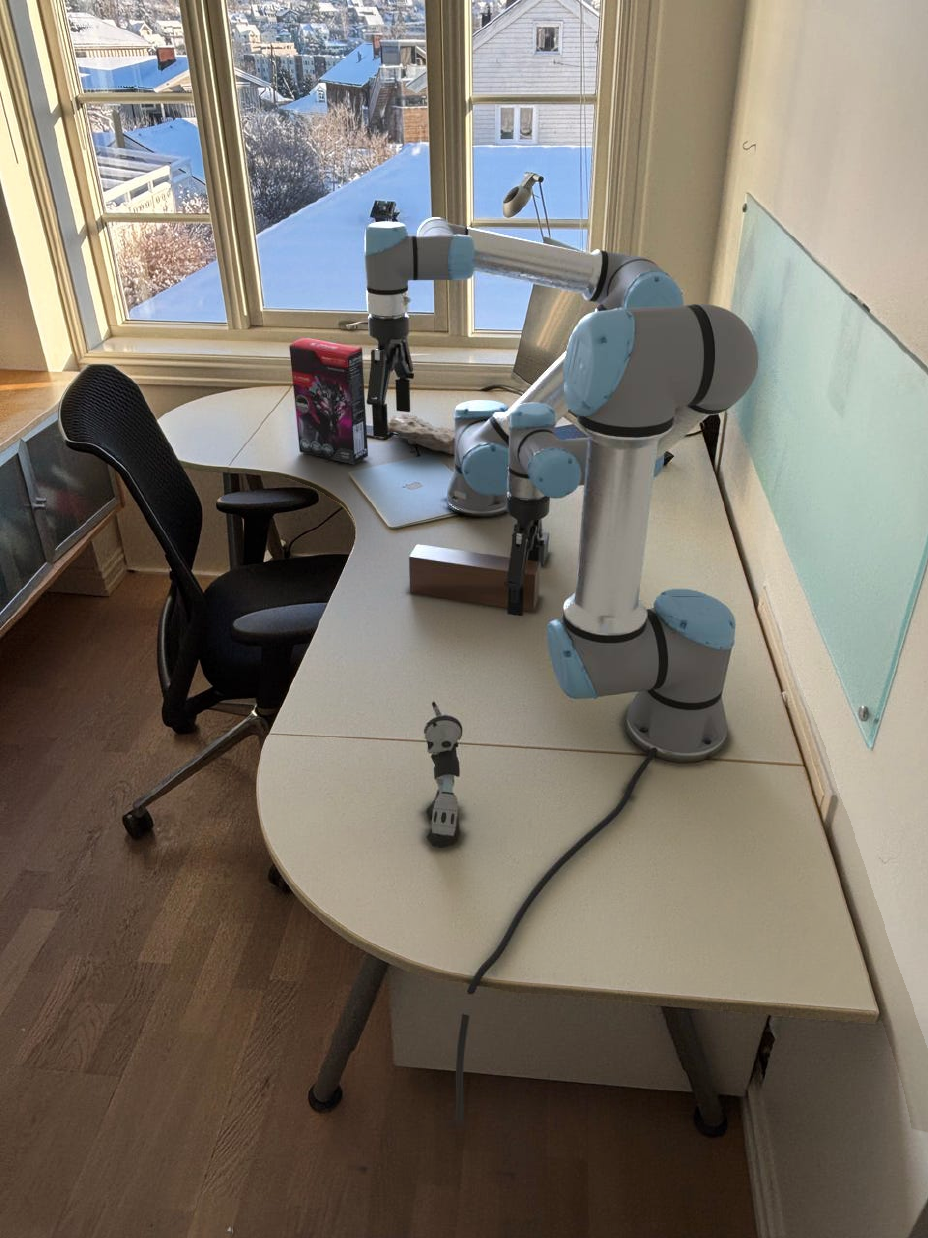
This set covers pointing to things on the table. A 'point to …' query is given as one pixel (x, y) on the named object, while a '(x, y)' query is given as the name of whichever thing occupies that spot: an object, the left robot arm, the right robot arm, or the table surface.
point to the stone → (423, 433)
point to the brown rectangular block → (468, 576)
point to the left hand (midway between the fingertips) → (392, 423)
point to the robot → (443, 777)
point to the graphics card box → (329, 399)
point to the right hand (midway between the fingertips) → (523, 595)
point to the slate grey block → (544, 548)
